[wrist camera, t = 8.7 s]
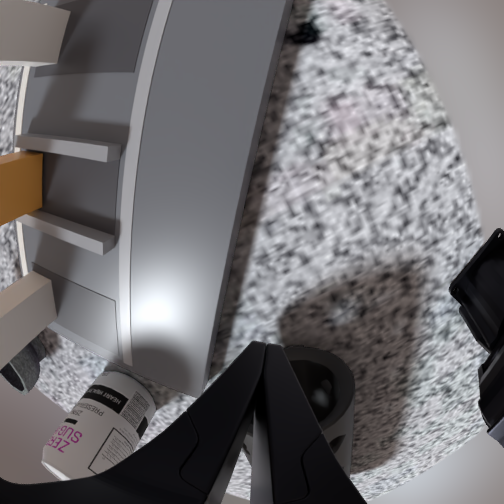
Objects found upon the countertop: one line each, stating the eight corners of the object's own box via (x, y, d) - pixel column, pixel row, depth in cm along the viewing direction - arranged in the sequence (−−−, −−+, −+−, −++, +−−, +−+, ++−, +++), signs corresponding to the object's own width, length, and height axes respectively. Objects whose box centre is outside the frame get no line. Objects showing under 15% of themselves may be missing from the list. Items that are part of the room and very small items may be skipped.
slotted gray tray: (297, -14, 14) (265, -141, 2) (207, 381, 28) (160, 486, 17) (58, 2, 16) (-44, -15, 4) (43, 306, 30) (-24, 364, 19)
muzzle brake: (354, 331, 23) (363, 441, 13) (349, 477, 32) (345, 537, 23) (239, 340, 25) (201, 439, 16) (284, 478, 35) (272, 537, 25)
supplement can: (144, 419, 34) (95, 504, 21) (95, 382, 33) (35, 461, 20) (169, 401, 31) (113, 505, 17) (111, 357, 30) (37, 452, 16)
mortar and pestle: (64, 369, 34) (17, 423, 24) (36, 367, 37) (-5, 411, 26) (23, 301, 31) (-37, 350, 20) (1, 308, 34) (-49, 348, 23)
